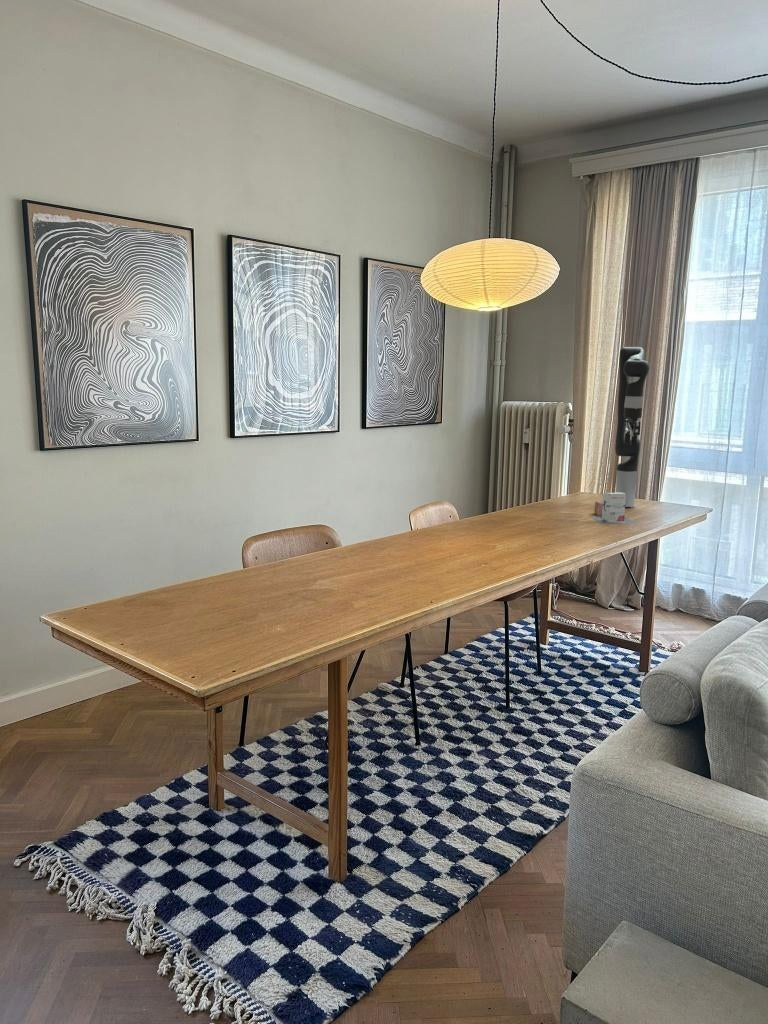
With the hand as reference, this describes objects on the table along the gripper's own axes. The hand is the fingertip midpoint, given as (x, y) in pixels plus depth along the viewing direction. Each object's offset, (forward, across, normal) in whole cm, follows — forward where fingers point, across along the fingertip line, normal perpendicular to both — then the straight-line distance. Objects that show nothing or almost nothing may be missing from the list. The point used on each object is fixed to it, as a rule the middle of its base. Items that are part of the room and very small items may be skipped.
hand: (630, 443), depth 340 cm
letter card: (+32, +14, -10) cm, 36 cm away
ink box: (+32, +14, -10) cm, 36 cm away
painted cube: (+32, 0, -10) cm, 34 cm away
